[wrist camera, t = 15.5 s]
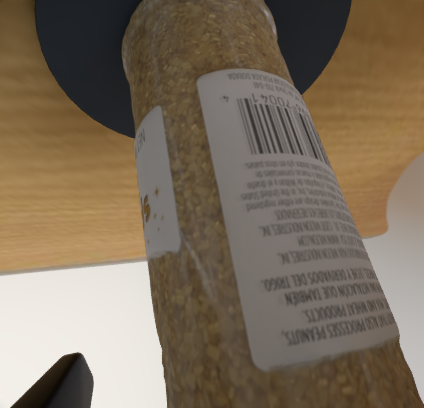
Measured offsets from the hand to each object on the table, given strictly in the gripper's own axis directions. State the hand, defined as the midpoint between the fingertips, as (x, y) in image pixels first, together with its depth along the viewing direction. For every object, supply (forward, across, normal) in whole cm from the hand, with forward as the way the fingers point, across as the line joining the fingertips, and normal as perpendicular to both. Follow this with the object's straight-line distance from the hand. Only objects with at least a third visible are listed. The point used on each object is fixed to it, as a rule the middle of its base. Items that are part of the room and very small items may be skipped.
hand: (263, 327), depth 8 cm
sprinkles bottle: (+4, 0, -7) cm, 8 cm away
